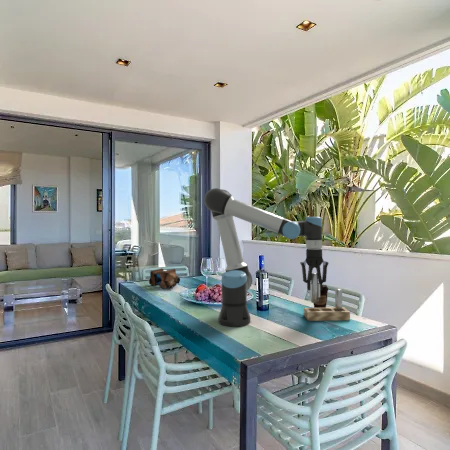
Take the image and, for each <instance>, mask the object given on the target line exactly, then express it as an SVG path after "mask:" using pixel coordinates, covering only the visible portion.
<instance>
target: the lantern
mask: <svg viewBox="0 0 450 450" xmlns="http://www.w3.org/2000/svg"><path fill="white" fill-rule="evenodd" d="M149 274H150V277H149V280H148V283H149V285H151V287H153V285H154V286H159V287H161V288H163V289H164V288H165V289H168V288H167V287H169V288H172V286H173V287H177V284H180V282H181V278H180V276H179V275H177V270H176V268H173V269H172V268H170V269H167V270H165V269H164V268H159V269H154V270H150V272H149Z"/></svg>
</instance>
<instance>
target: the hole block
mask: <svg viewBox="0 0 450 450" xmlns="http://www.w3.org/2000/svg"><path fill="white" fill-rule="evenodd" d="M303 317H305V319H306V320H307V321H308V322H312V321H317V322H319V321H320V322H321V321H350V320H351V311H350V310H348V309H347V308H346V307H345V306H342V311H335V306H334V307H327V306H326V307H325V308H314V307H304V308H303Z"/></svg>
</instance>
